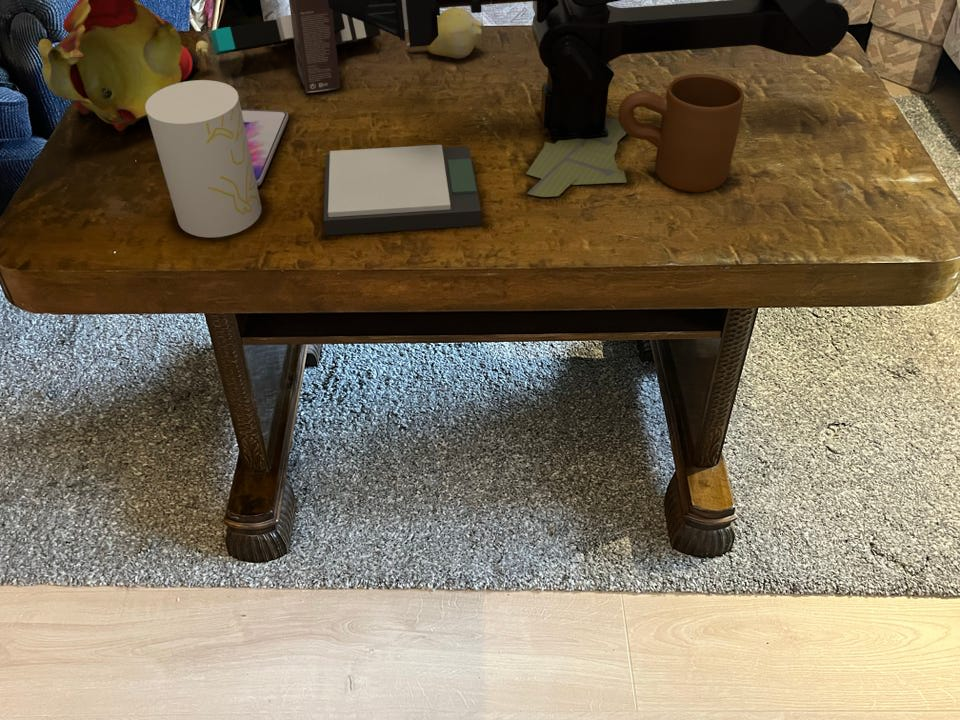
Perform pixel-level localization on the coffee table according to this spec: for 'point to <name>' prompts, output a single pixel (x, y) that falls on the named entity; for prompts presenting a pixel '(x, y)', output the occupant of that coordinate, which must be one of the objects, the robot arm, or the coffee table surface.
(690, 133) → the mug
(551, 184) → the map
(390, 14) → the robot arm
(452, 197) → the scale
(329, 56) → the box
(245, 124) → the smartphone
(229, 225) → the cup
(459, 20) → the fruit
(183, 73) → the toy figurine
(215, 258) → the coffee table surface
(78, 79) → the toy
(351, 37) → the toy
